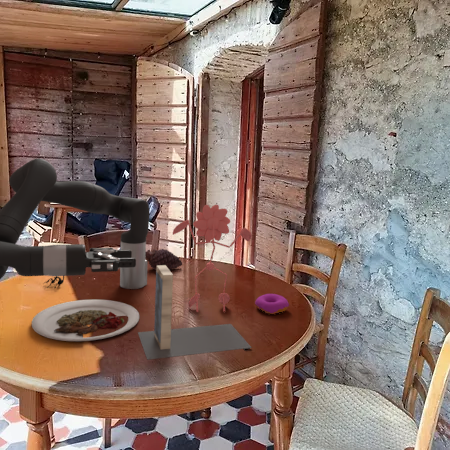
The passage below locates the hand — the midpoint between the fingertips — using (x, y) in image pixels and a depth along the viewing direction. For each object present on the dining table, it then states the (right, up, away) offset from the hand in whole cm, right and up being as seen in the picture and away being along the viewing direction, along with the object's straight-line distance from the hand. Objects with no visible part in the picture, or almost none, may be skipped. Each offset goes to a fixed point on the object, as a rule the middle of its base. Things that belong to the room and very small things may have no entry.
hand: (133, 258), depth 106 cm
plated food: (-17, -21, +18) cm, 32 cm away
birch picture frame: (+6, -23, +7) cm, 25 cm away
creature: (-40, -14, +47) cm, 63 cm away
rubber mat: (+15, -24, +9) cm, 29 cm away
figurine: (+17, -19, +37) cm, 45 cm away
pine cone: (-4, -11, +76) cm, 77 cm away
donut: (+39, -21, +36) cm, 57 cm away
